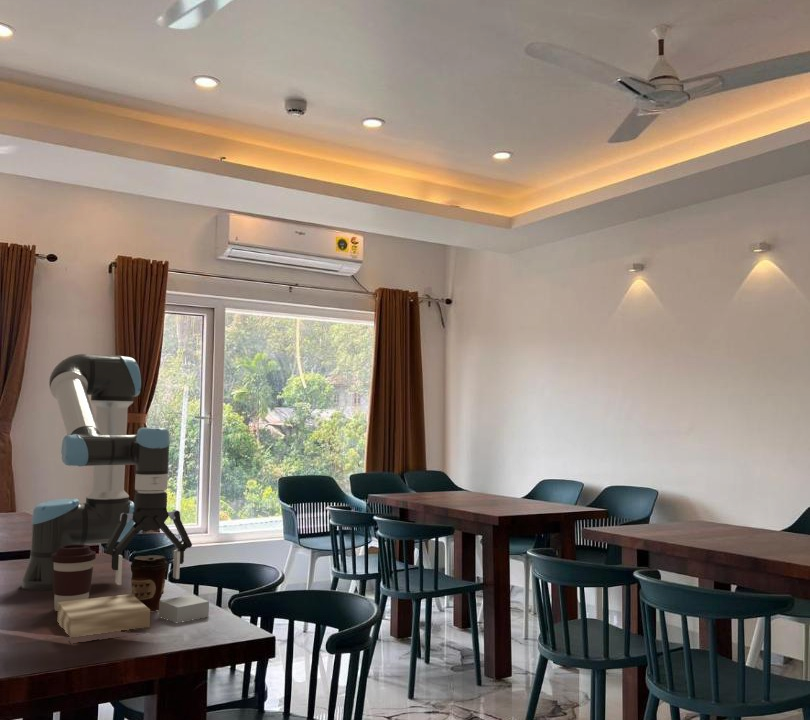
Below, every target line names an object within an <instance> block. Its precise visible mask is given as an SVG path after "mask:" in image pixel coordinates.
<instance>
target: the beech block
mask: <svg viewBox="0 0 810 720" xmlns="http://www.w3.org/2000/svg"><path fill="white" fill-rule="evenodd" d="M56 619H57V621H56V623H57V622H58V623H59V624H58V623H57V624H58V625H59V626H60V627H61V629H62V628H63V629H64V630H65V631H64V630H63V629H62V630H63V631H64V633H66V635H67V634H68V635H69V636H70V638H71V637H79V636H86V635H93V634H101V633H108V632H114V631H121V630H127V631H130V630H129V629H134V630H136V629H135V628H142V629H144V628H143V627H149V628H150V625H151V612H150V609H149V608H148V607H147V606H145V605H144V604H143V603H142V602H141V601H139V600H138V599H137V598H136V597H135V596H134V595H132V593H129V594H119V595H111V596H101V597H94V598H92V597H91V598H88V599H82V600H73V601H64V602H58V612H57V617H56ZM68 635H67V636H68Z"/></svg>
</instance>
